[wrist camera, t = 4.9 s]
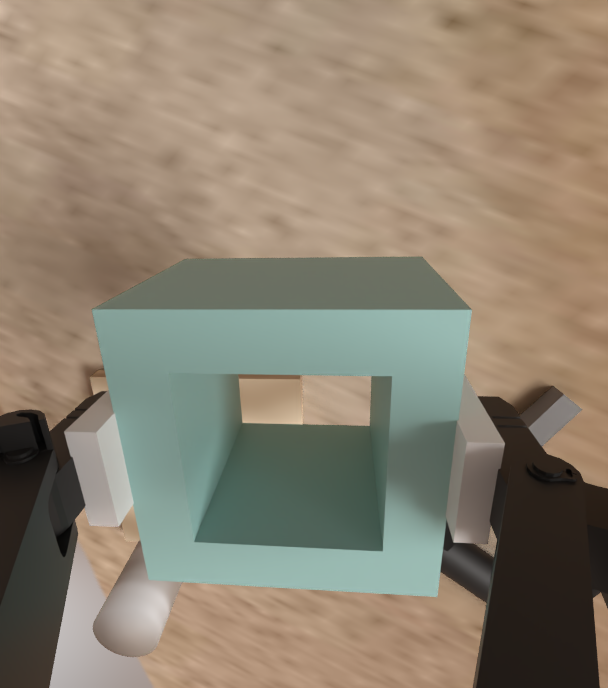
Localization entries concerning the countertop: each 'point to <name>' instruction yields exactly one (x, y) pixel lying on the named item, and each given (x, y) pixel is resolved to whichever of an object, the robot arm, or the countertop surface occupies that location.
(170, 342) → the collar
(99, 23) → the countertop surface
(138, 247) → the countertop surface
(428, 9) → the countertop surface
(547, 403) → the black toy gun
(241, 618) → the countertop surface
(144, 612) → the peg stand
